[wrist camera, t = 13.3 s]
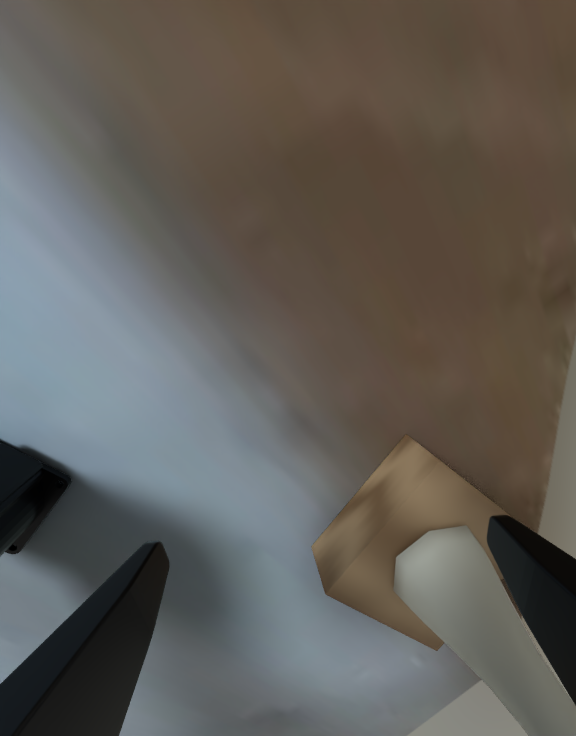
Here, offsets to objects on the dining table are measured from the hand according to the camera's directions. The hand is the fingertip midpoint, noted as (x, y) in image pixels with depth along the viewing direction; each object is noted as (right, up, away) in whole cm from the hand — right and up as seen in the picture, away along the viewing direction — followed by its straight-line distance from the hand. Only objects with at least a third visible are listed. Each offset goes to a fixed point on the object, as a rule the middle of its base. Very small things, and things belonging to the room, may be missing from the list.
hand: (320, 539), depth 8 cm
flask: (+10, -10, +13) cm, 19 cm away
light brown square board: (+9, -9, +17) cm, 21 cm away
